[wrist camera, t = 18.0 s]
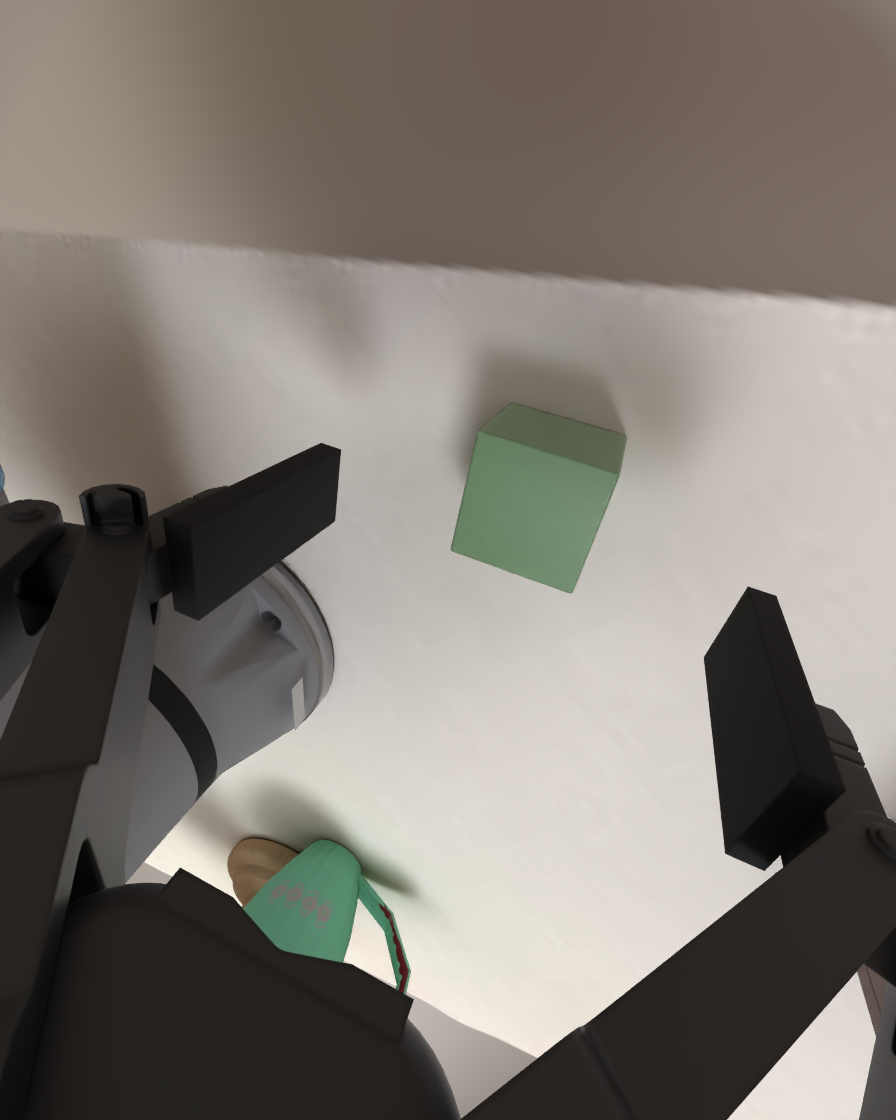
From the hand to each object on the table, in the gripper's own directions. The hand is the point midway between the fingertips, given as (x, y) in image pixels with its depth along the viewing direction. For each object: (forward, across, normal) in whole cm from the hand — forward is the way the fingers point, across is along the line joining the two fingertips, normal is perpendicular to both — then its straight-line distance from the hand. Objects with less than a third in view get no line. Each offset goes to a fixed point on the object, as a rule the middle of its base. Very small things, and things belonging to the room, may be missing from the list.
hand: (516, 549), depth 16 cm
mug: (+8, -5, -39) cm, 40 cm away
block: (+8, 0, 0) cm, 8 cm away
